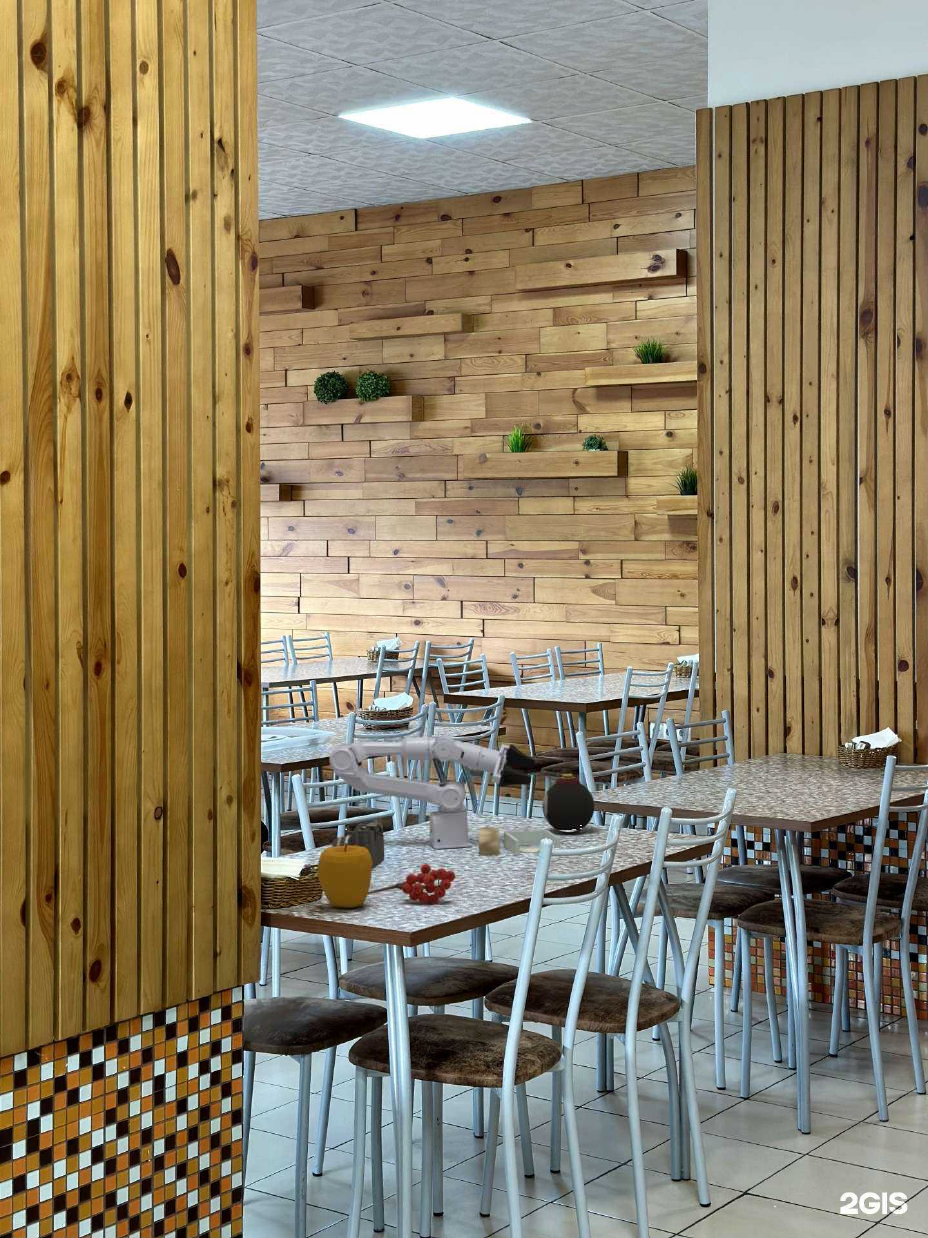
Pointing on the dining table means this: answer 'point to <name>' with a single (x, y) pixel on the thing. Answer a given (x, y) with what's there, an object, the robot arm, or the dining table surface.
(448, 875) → the decorative berry sprig
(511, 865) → the dining table surface
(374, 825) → the camera
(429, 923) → the dining table surface
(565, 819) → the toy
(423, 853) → the dining table surface
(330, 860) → the apple
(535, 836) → the shallow grey tray
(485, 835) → the birch cylinder
